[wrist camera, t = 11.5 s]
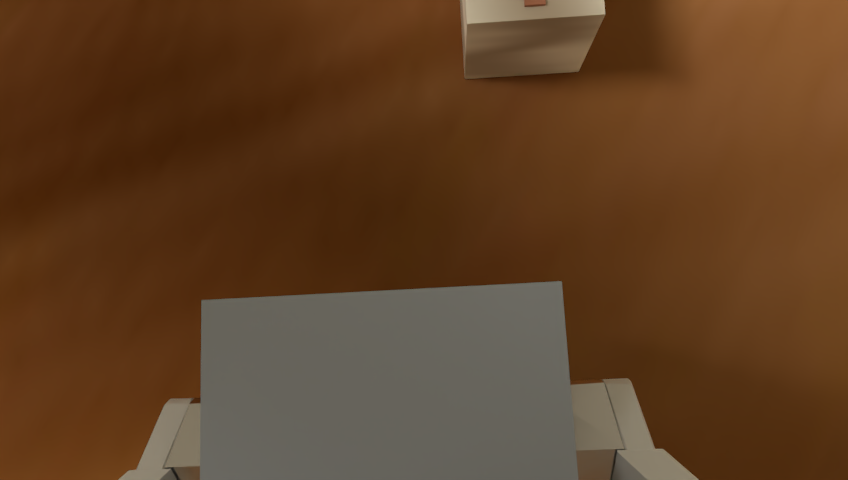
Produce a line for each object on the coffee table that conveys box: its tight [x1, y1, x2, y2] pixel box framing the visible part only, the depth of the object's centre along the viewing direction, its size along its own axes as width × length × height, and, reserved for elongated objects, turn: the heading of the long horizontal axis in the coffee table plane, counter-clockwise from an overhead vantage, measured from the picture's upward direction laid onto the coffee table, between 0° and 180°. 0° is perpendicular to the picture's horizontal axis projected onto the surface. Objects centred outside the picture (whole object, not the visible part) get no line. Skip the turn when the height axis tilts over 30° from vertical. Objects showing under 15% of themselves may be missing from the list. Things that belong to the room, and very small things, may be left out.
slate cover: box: [200, 281, 578, 480], centre depth 13 cm, size 6×6×7 cm
